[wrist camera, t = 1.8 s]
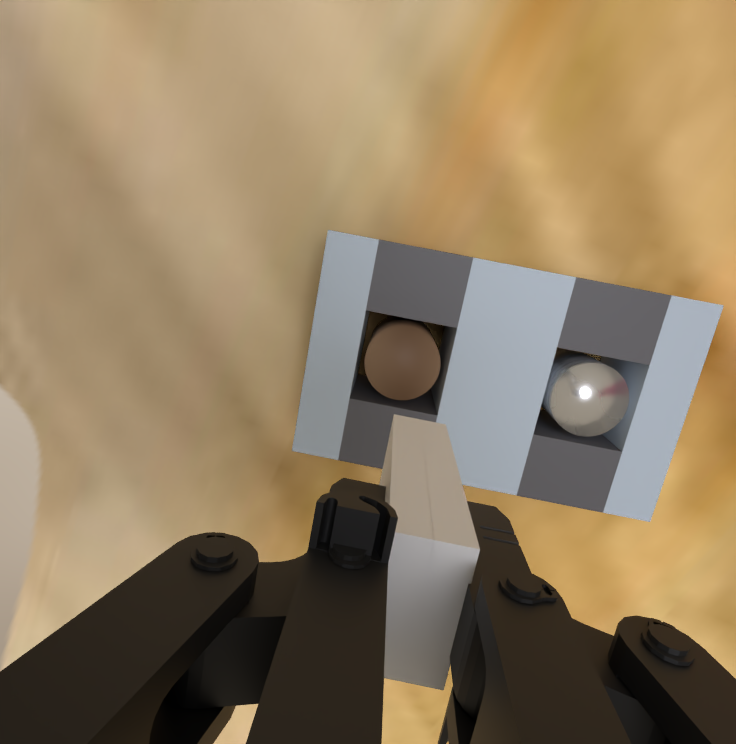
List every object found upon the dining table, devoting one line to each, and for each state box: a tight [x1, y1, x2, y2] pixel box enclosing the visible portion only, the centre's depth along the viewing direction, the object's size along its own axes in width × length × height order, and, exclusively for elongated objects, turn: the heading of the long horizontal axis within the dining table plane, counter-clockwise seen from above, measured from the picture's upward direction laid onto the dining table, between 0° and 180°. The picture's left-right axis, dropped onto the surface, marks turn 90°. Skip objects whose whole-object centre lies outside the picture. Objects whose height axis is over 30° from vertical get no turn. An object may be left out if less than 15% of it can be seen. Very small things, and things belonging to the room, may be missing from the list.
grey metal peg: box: [541, 347, 629, 437], centre depth 30 cm, size 4×4×6 cm
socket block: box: [292, 230, 723, 522], centre depth 30 cm, size 20×12×6 cm, turn 79°
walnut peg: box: [365, 316, 441, 400], centre depth 30 cm, size 4×4×6 cm
